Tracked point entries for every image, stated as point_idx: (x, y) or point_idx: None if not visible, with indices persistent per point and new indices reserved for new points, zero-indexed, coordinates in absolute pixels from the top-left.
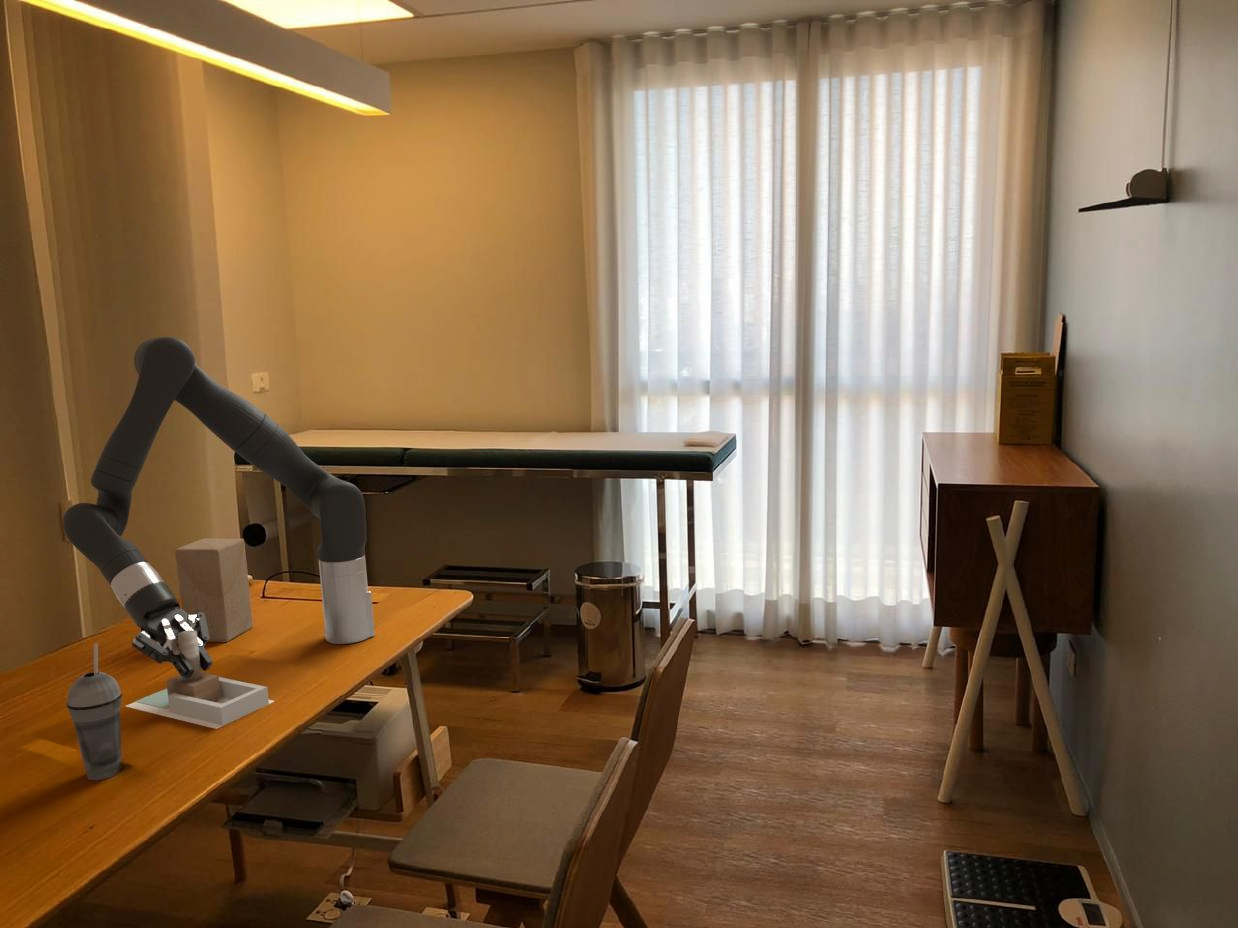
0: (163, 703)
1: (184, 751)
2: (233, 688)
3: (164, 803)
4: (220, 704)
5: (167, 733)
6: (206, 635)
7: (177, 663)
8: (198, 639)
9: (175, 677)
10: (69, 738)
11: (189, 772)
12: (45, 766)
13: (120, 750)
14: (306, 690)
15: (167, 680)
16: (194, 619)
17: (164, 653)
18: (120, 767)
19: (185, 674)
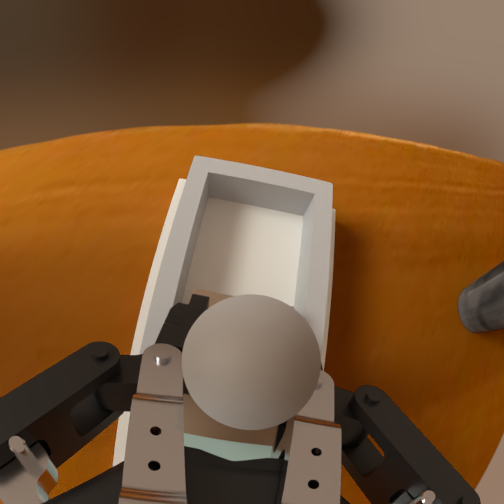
0: (259, 448)
1: (389, 239)
2: (186, 260)
3: (464, 173)
4: (319, 194)
5: (349, 336)
6: (93, 353)
7: None
8: (149, 370)
9: (240, 435)
10: None
11: (421, 187)
12: (483, 420)
13: (482, 277)
14: (83, 190)
15: (273, 439)
16: (19, 473)
17: (378, 393)
18: (465, 289)
19: None
